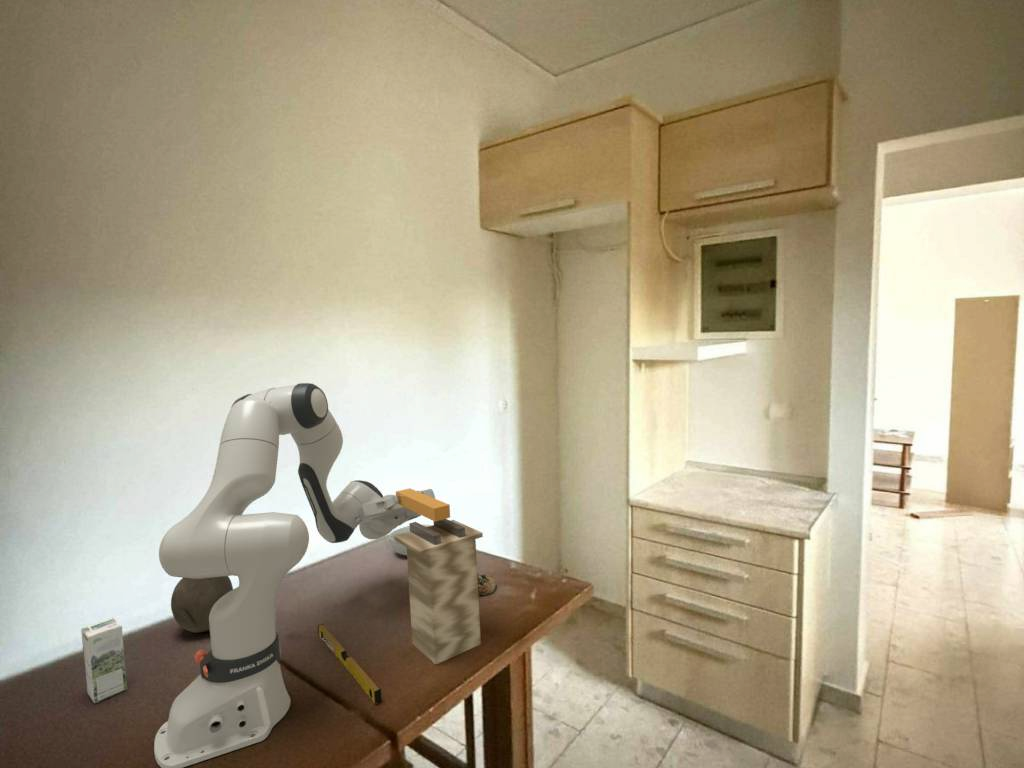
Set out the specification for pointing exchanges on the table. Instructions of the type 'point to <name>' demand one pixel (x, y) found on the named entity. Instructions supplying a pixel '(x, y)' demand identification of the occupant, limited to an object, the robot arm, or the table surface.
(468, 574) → the stand
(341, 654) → the spirit level
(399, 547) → the cereal bowl
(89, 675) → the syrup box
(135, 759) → the table surface
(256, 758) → the table surface
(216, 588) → the dark grey ball
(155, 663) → the table surface
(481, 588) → the bread roll
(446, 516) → the long orange beam
